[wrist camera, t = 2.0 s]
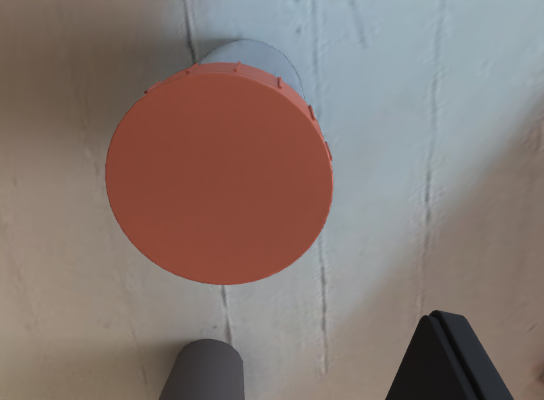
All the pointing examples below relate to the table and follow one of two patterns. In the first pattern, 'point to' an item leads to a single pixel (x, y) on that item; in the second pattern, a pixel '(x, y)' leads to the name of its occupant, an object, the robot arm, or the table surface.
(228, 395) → the coffee cup
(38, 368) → the table surface
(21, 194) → the table surface
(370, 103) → the table surface
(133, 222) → the lid
